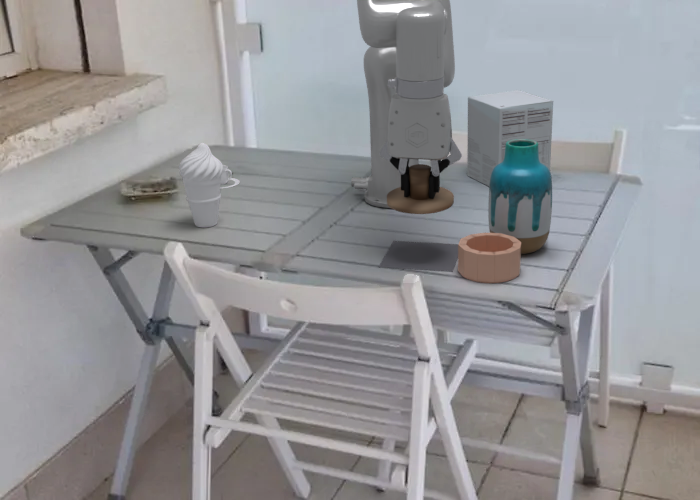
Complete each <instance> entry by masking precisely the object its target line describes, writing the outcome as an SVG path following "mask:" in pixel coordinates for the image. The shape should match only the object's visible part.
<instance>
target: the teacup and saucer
mask: <svg viewBox="0 0 700 500" xmlns="http://www.w3.org/2000/svg"><path fill="white" fill-rule="evenodd" d="M232 175H233V172H232V170H231V169H229V166H228V165H225V164H223V172H222V175H221V182H220V186H221V185H223V186H221V189H222V190H224V189H229V188H233V187H236V186H238V185H239V184H240V183H241V180H239V179H237V178H234V177H232ZM230 181H233V182H234V183H233V184H231V185H227V186H224V185H226V184H228V182H230Z"/></svg>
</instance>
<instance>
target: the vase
mask: <svg viewBox="0 0 700 500" xmlns="http://www.w3.org/2000/svg"><path fill="white" fill-rule="evenodd" d="M487 207H488V210H487V211H488V215H487V216H488V229H489V230H488V232H489V233H502V234H505V235H509V236H513V237H515V238H516V239H518V240H519V241H520V242H521V255H525V254H526V255H527V254H531V253H534V252H537V251H538V250H539V251H540V249H541V248H542V247H544V245H545V244H546V242H547V241H548V238H549V235H550V230H551V223H552V211H553V208H552V207H553V182H552V174H551V170H550V171H549V169H548V168H547V166H545V165H544V164H542V163H540V161H539V148H538V143H537V142H536V141H534V140H529V139H515V140H510V141H508V142H506V145H505V155H504V160H503V162H502V163H500V164H498V165H496V166H495V167H494V169H493V171H492V173H491V178H490V185H489V186H488V206H487Z"/></svg>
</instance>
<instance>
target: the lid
mask: <svg viewBox="0 0 700 500" xmlns="http://www.w3.org/2000/svg"><path fill="white" fill-rule="evenodd" d="M431 171H432V168H431V165H428V164H424V163H423V164H422V163H421V164H420V163H419V164H416V165H412V166H410V167H409V197H404V191H403V190H401V187H399V188H396V189H394V190H392V191H390V192H389V193H388V194H387V205H388V206H389V207H390V208H389V209H392V210H395V211H396V212H400V213H404V214H411V215H429V214H435V213H436V214H437V213H440V212H444V211H446V210H448V209H450V208H452V207H453V205H454V203H455V196H454V195H455V194H454V193H453V192H452V191H451V190H449V189H448V188H445V187H442V186H440V189H439V193H437V192H436V194H435V197H434V199H430V198H429V176H430V175H431Z"/></svg>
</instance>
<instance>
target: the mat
mask: <svg viewBox="0 0 700 500" xmlns="http://www.w3.org/2000/svg"><path fill="white" fill-rule="evenodd" d="M458 244H459V243H444V242H441V243H440V242H425V241H422V242H421V241H409V240H393V241H392V243H391V244H390V246H389V247H388V250H387V251H386V253H385V254H384V257H383V258H382V259H381V262H380V263H379V265H378V268H385V269H388V268H389V269H398V270H401V269H402V270H416V271H431V272H445V273H447V272H449V273H453V272H454V269H455V267H456V264H457V263H458Z"/></svg>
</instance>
